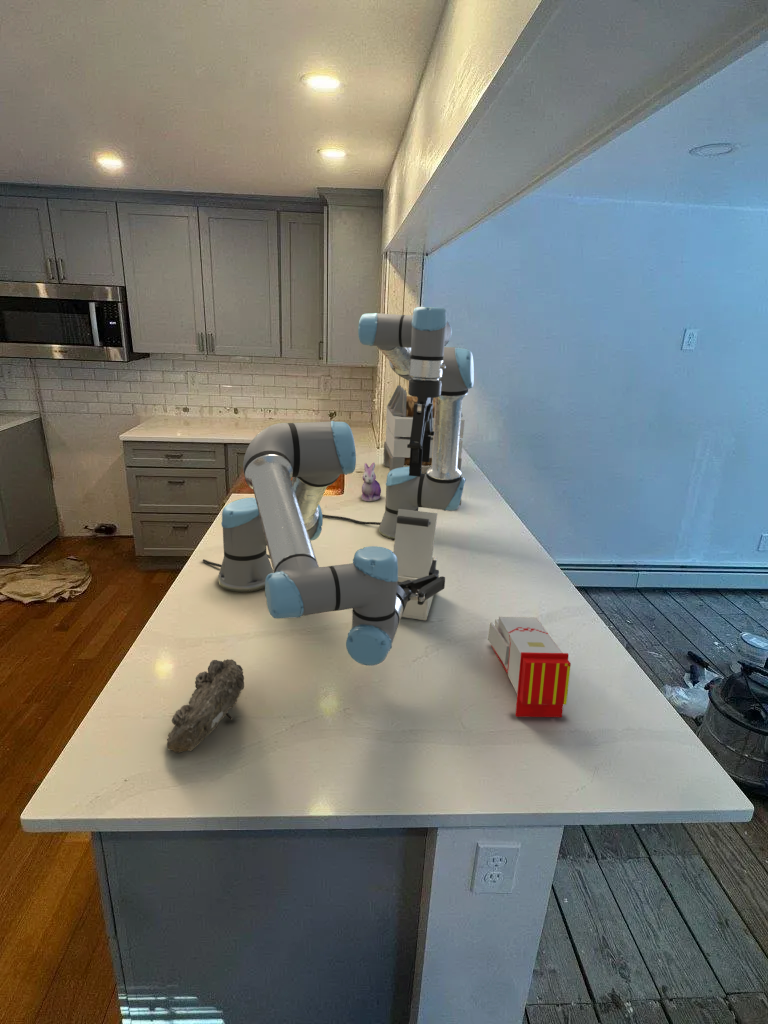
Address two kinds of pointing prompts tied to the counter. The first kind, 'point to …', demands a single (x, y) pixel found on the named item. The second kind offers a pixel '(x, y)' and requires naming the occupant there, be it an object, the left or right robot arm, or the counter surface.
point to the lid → (414, 542)
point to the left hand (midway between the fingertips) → (404, 561)
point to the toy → (531, 665)
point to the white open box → (412, 607)
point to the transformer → (405, 431)
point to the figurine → (370, 484)
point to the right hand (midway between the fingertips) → (419, 468)
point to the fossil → (206, 705)
